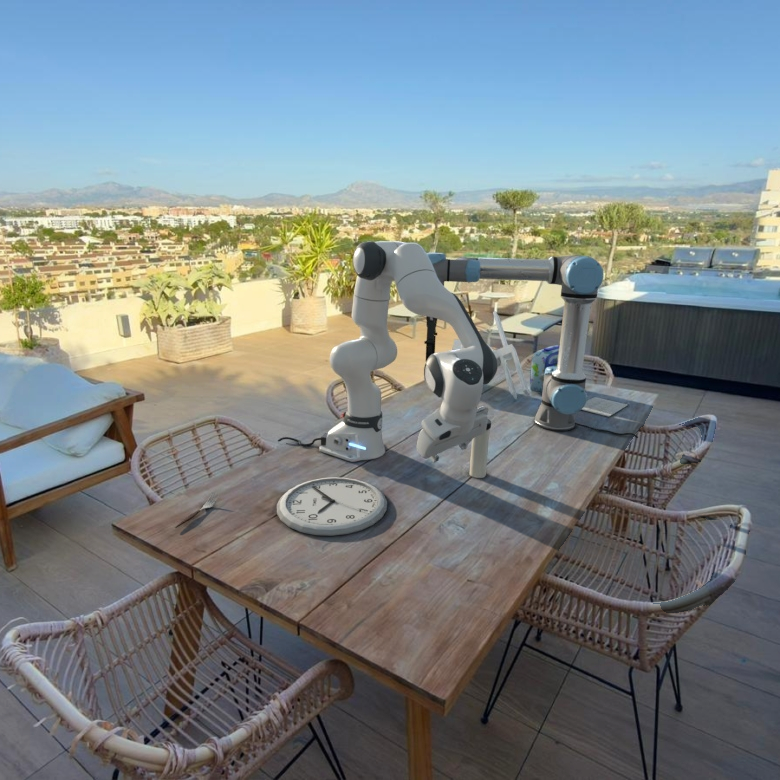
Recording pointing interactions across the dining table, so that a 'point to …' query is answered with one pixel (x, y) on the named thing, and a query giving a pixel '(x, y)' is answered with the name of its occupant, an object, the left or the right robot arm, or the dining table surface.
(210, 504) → the fork
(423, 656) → the dining table surface
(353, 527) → the wall clock
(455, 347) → the white plastic object
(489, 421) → the lid
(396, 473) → the dining table surface
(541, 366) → the lunch box
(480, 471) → the white tall cylinder
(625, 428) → the dining table surface
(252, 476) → the dining table surface
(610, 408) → the invitation card
